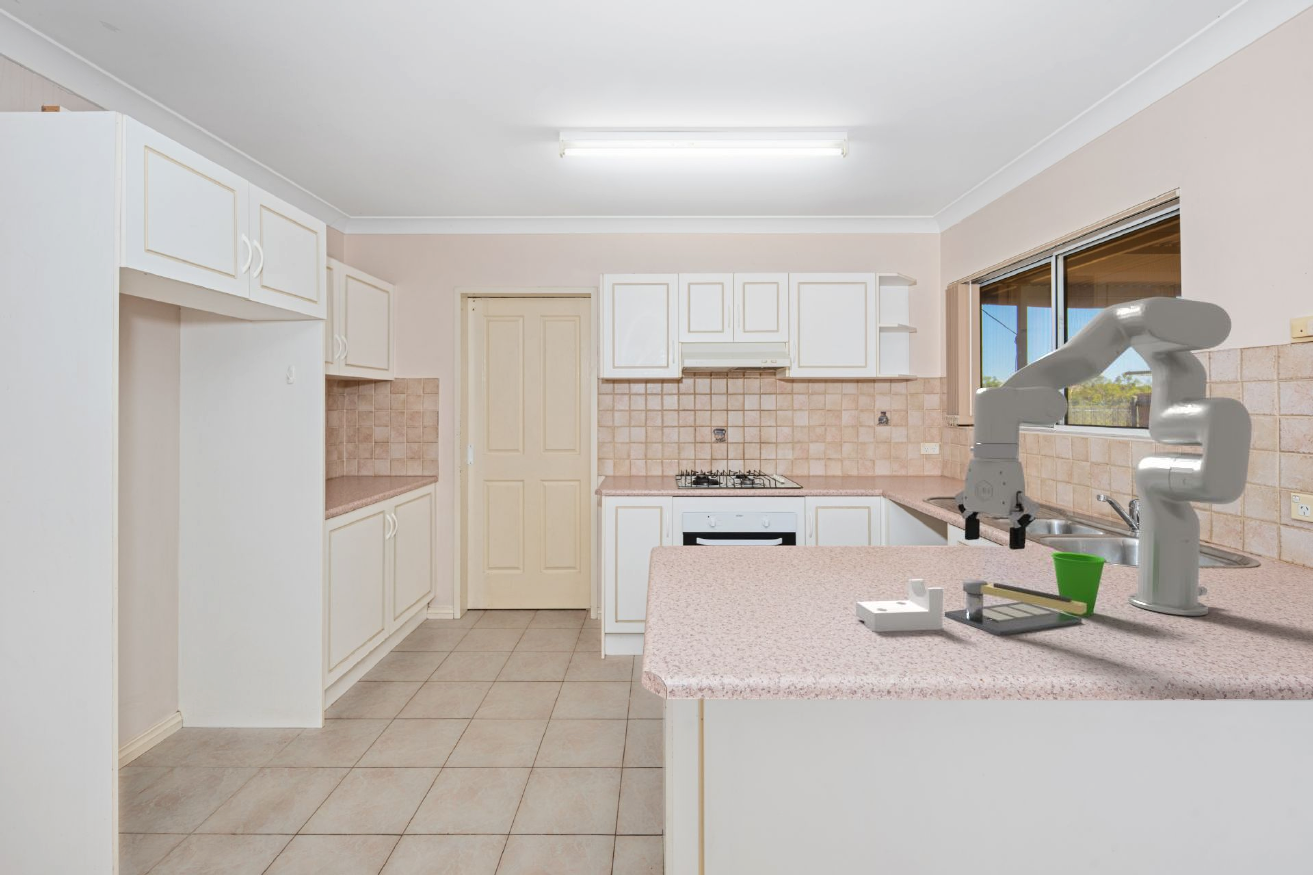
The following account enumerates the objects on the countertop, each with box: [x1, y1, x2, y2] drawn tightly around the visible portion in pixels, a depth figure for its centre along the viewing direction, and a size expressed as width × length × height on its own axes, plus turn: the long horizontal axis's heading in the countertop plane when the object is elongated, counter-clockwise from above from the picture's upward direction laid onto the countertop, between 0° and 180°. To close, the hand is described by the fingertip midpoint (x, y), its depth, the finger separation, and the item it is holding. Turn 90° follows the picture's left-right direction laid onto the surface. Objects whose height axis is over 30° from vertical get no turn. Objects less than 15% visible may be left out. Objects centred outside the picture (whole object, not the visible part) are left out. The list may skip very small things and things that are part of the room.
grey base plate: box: [944, 592, 1083, 637], centre depth 118 cm, size 21×12×6 cm, turn 111°
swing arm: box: [962, 578, 1087, 615], centre depth 109 cm, size 20×4×2 cm, turn 37°
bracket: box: [855, 578, 944, 632], centre depth 115 cm, size 13×7×8 cm, turn 98°
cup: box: [1050, 551, 1107, 617], centre depth 123 cm, size 9×9×11 cm
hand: (993, 544), depth 117 cm, fingers open, 9 cm apart
